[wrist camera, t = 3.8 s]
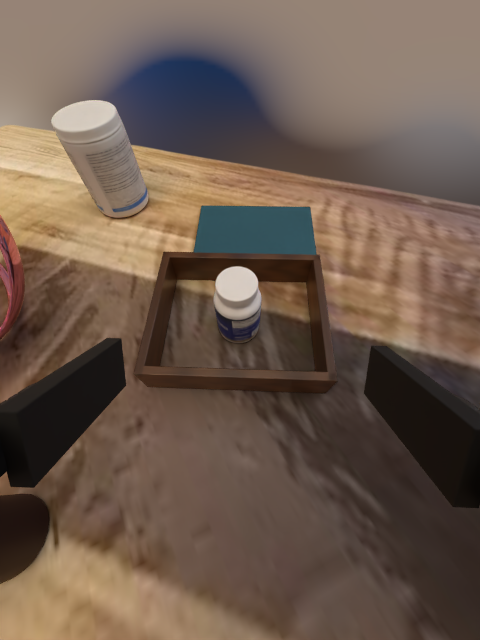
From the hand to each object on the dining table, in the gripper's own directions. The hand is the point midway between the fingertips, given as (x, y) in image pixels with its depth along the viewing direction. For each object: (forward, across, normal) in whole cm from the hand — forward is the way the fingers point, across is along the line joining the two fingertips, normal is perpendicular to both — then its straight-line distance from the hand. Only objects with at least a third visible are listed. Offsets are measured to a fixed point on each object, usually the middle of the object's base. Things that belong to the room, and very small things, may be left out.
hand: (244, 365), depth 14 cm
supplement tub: (+42, -24, +14) cm, 50 cm away
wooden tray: (+23, -1, -5) cm, 23 cm away
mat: (+36, +1, +9) cm, 37 cm away
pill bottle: (+23, -1, -5) cm, 24 cm away
